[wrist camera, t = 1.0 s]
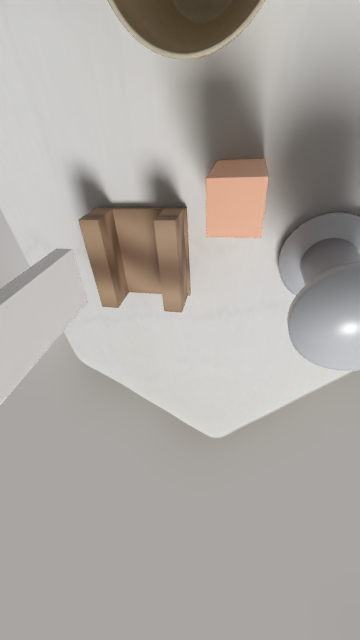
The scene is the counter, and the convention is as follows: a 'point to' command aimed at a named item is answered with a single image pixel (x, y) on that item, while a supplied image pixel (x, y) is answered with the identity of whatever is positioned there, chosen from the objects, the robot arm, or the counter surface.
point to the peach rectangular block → (236, 198)
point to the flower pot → (185, 24)
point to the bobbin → (324, 289)
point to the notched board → (139, 253)
